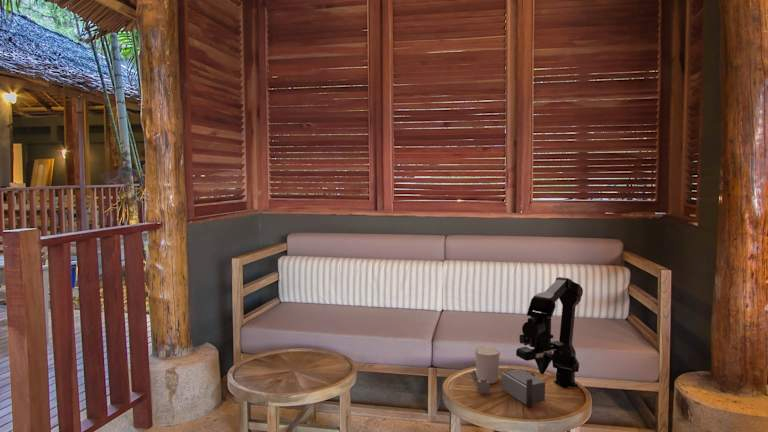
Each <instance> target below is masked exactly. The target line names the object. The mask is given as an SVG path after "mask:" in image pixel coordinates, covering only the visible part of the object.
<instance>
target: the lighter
mask: <svg viewBox="0 0 768 432" xmlns="http://www.w3.org/2000/svg"><path fill="white" fill-rule="evenodd" d="M469 372H470V373H469V374H470V376H471V378H472V380H473V382H474V383H477V393H480V394H486V395H488V394H490V384H489V381H487V379H485V378H481V380H478V378H477V375H476V370H475V369H472V370H470V371H469Z"/></svg>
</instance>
